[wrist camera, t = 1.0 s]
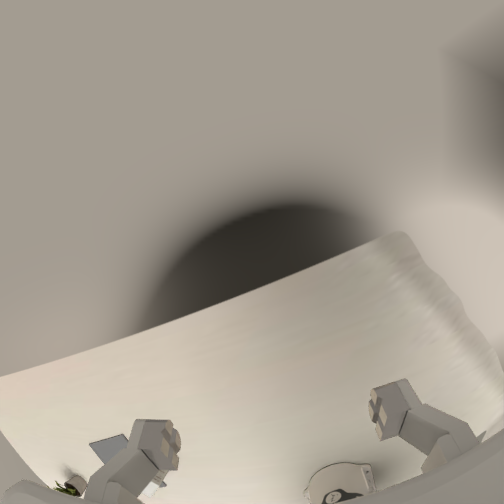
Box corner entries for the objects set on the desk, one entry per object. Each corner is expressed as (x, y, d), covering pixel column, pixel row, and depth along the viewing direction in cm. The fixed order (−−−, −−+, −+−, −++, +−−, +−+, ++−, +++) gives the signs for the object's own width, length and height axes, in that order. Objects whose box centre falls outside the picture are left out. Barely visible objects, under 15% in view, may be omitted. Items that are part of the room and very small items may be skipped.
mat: (166, 485, 60) (166, 486, 59) (130, 491, 61) (129, 491, 60) (123, 434, 61) (122, 434, 60) (89, 443, 62) (88, 444, 61)
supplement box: (166, 471, 60) (150, 499, 47) (143, 457, 60) (123, 482, 48) (176, 457, 59) (160, 486, 47) (151, 442, 60) (131, 469, 47)
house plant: (68, 457, 63) (41, 480, 47) (101, 483, 62) (77, 510, 45) (62, 473, 63) (38, 495, 47) (92, 497, 62) (71, 521, 46)
